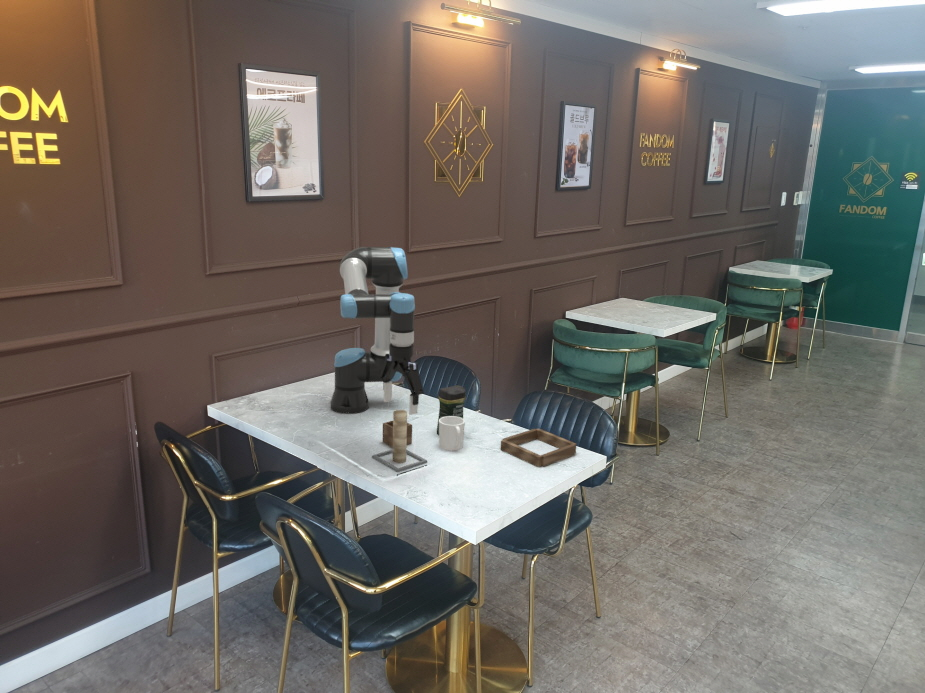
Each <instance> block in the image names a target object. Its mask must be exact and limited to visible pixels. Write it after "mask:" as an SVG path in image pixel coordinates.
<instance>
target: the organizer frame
mask: <svg viewBox="0 0 925 693" xmlns="http://www.w3.org/2000/svg"><path fill="white" fill-rule="evenodd" d="M535 440H538V441H540V442H543V443H545V444H547V445H550V446H552V447H555V448H556V449H553V450H552V451H551V450H550V451H549V452H546V453H543V454H538V453H536V452H534V451H531V450H529V449H527V448H526V447H525V448H524V447H522V446H521V445H523V444H526V443H529V442H533V441H535ZM500 451H502V452H504V453H506V454H508V455H511V456H512V457H515V458H517V459H519V460H522V461H524V462H526V463H528V464H530V465H533V466H535V467H537V468H541V467H546V466H550V465H551V464H554V463H558V462H560V461H562V460H565V459H567V458H570V457H573V456H575V455H576V453H577V442H576V443H575V442H573V441H572V440H568V439H565V438H563V437H561V436H558V435H556V434H554V433H551V432H548V431H546V430H544V429H541V428H539V427H538V428H531V429H529V430H525V431H523V432H522V431H521V432H520V433H516V434H513V435H511V436H507V437H504V438H502V439H501V440H500Z"/></svg>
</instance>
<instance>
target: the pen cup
mask: <svg viewBox="0 0 925 693" xmlns="http://www.w3.org/2000/svg"><path fill="white" fill-rule="evenodd" d="M382 443H383V444H385V445H387V446H389V447H390V448H392V449H393V420H390V421H386V422H382ZM412 444H413V424H411V423H409V422H407V445H406V447H407V446H410V445H412Z"/></svg>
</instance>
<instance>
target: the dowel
mask: <svg viewBox="0 0 925 693" xmlns="http://www.w3.org/2000/svg"><path fill="white" fill-rule="evenodd" d="M392 414H393V415H392V416H393V417H392V418H393V419H392V421H393V448H392V449H393V453H392V462H393V463H396V464H403V463H406V462H407V454H406V450H407V446H408V445H407V423H408V411H407V410H404V409H395V410H393V413H392ZM406 445H407V446H406Z"/></svg>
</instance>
